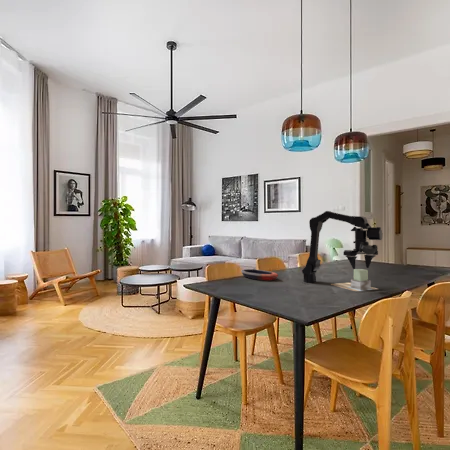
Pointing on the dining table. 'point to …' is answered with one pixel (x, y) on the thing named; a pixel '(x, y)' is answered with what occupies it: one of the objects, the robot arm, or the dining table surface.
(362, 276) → the sage block
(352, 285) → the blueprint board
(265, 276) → the dish
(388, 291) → the dining table surface
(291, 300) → the dining table surface
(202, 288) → the dining table surface
